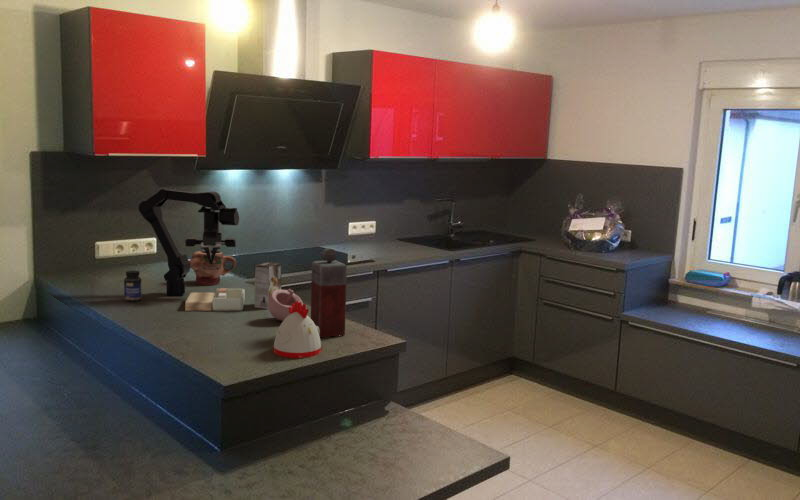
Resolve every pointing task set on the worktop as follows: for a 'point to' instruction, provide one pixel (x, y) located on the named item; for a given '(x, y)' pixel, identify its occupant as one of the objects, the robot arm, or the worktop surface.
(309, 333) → the kitchen timer
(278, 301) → the mortar and pestle
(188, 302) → the oak board
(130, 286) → the pill bottle
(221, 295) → the offwhite tile
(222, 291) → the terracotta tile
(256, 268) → the coffee box
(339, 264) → the red square decanter
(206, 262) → the decorative planter
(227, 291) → the tray
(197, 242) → the robot arm
